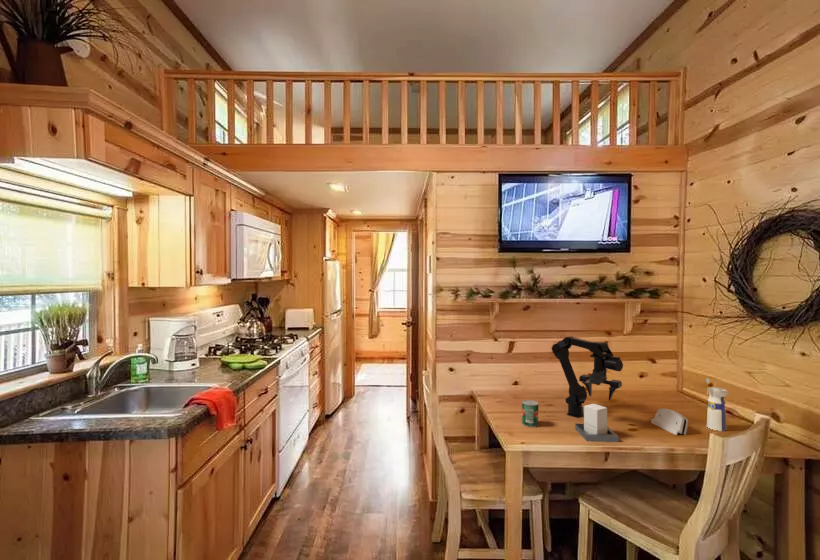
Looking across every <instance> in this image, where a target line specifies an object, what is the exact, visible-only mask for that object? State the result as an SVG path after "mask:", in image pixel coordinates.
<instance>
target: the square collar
mask: <svg viewBox="0 0 820 560" xmlns="http://www.w3.org/2000/svg"><path fill="white" fill-rule="evenodd" d="M574 430H575V431H577V432H578V434H579V435H580V436H581V437H582V438H583V439H584V440H585V441H586V442H606V443H611V442H612V443H619V441H620V440H619V435H618V434H617V433H616V432H614V431H613V430H612V429H611V428H609V427H608V426H607V435H605V434H588V433H587V432H586V431H585V430H584V423H575V425H574Z"/></svg>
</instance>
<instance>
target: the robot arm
mask: <svg viewBox="0 0 820 560" xmlns="http://www.w3.org/2000/svg"><path fill="white" fill-rule="evenodd" d="M572 346H574V347H578V348H583V349H586V350H588V351H589V353H590V352H591V353H592V354H590V355H589V357H591V358H593V369H592V373H591V374H590V375H589V374H585V373H584V374H581V375H579V377H578V379H579V380H578V379H577V376H576V373H575V371H574V368H573V367H572V363H571V361H570V359H569V356H570V351H569V349H571V348H572ZM551 351H552V353H553V355H554V357H555V358H556V359H558V361H559V362H560V365H561V369H562V371H563V373H564V376H565V378H566V381H567V383H568V387H569V388H568V396H567V397H566V398H565V399H564V400H565V403H566V404H567V413H566V415H567V416H570V417H575V418H580V417H582V416H584V406H583V404H585V402H586V400H587V399H588V395H589V397H592V391H593V389H592V388H593V387H592V385H596V386H601V384H604V385H608V386H609V387H608V389H609V390H608V391H609V392H608V401H611V400H612V397H613V395H614V393H615V391H616V390H617V389H618V390H619V389H620V388H622V387H623V383H622V381H621V380H618V379H610V380H608V376H607V372H608V370H610V371H613V372H615V371H616V372H621V371H622V370H623V368H624V364H623V361H622V359H621V357H620V356H614V353H613V352H612V351H611V348H610V346H609V344H608V343H607V342H605V341H590V340H585V339H581V338H578V337H574V336H570V335H569V336H565V337H564V338H562V339H561V340H559V341H557V342H556V343H554V344H553V345H552V347H551ZM579 382H581V383H582V384H583V385H582V386H581V384H580V383H579ZM586 390H587V391H586Z"/></svg>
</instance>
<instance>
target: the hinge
mask: <svg viewBox="0 0 820 560" xmlns="http://www.w3.org/2000/svg"><path fill="white" fill-rule="evenodd" d="M650 423H651V424H653V425H655V426H656V427H659V428H661V429H663V430H665V431H667V432H668V433H671V434H673V435H674V436H678V434H682V435H684V436H686V435H687V431H688V425H689V420H688V419H687V417H685V416H684V415H683V414H681V413H679V412H677V411H676V410H673V409H671V408H662V407H659V408H658V409H657V410H656V413H655V416H654V418H651V421H650Z"/></svg>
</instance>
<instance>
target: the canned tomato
mask: <svg viewBox="0 0 820 560" xmlns="http://www.w3.org/2000/svg"><path fill="white" fill-rule="evenodd" d="M539 404H540V403H539V402H538V401H535V400H530V399H525V400H522V401H521V424H522V425H523V426H524V425H525V426H524V427H527V426H530V427H529V428H536V426H537V427H538V426H539Z"/></svg>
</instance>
